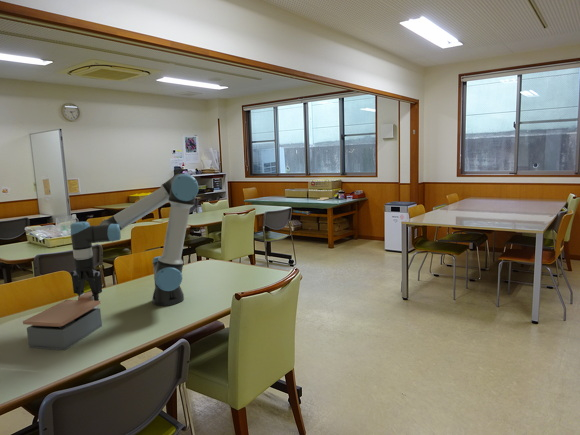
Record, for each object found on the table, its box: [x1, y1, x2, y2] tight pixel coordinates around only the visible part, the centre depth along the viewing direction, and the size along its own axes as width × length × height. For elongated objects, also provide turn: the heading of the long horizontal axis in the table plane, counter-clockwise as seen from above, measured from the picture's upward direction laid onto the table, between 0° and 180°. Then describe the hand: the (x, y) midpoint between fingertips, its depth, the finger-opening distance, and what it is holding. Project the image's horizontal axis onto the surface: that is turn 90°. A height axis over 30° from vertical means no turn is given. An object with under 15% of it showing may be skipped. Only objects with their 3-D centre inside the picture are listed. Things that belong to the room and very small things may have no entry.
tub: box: [26, 307, 103, 351], centre depth 169 cm, size 16×22×8 cm
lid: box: [22, 291, 101, 327], centre depth 171 cm, size 17×30×4 cm, turn 169°
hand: (89, 308), depth 183 cm, fingers closed on lid, 5 cm apart
